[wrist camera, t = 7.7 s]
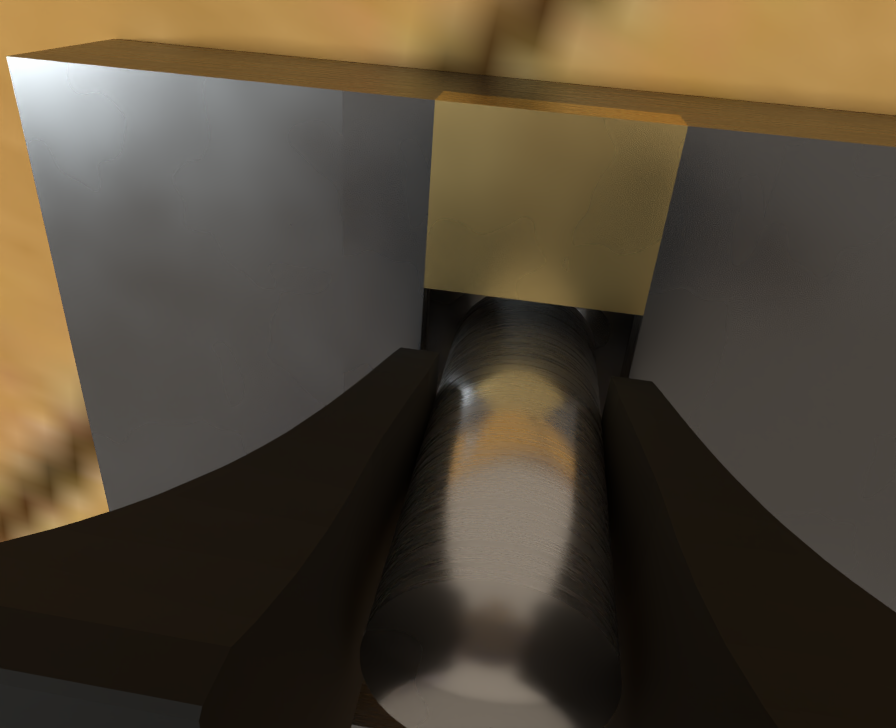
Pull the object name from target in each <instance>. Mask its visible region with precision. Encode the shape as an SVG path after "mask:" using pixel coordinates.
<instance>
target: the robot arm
mask: <svg viewBox="0 0 896 728" xmlns="http://www.w3.org/2000/svg"><path fill="white" fill-rule="evenodd" d="M438 363H439V352H432V351H424V350H417V349H410V348H402V347H400V348H399V349H398V350H396V351H395V352H393V353H392V354H391V355H390V356H388V357H387V358H386V359H385V360H383V361H382V362H381V363H380V364H379V365H377V366H376V367H375V368H374V369H372V370H371V371H370V372H369V373H368V374H366V375H365V376H364V377H363V378H361V379H360V380H359V381H358V382H356V383H355V384H354V385H353V386H351V387H350V388H349V389H347V390H346V391H345V392H343V393H342V394H341V395H339V396H338V397H337V398H335V399H334V400H333V401H332V402H330V403H329V404H328V405H326V406H325V407H323V408H322V409H321V410H319V411H318V412H316V413H315V414H313V415H312V416H310V417H309V418H307V419H306V420H304V421H303V422H301V423H300V424H298V425H297V426H295V427H294V428H292V429H291V430H289V431H288V432H286V433H284V434H283V435H281V436H279V437H278V438H276V439H274V440H272V441H271V442H269V443H267V444H265V445H264V446H262V447H260V448H258V449H256V450H254V451H252V452H251V453H249V454H247V455H245V456H243V457H241V458H239V459H237V460H235V461H233V462H231V463H229V464H227V465H225V466H223V467H221V468H219V469H216V470H214V471H212V472H209V473H207V474H205V475H202V476H200V477H198V478H195V479H193V480H191V481H188V482H186V483H184V484H181V485H179V486H177V487H174V488H172V489H170V490H167V491H165V492H163V493H160V494H158V495H155V496H152V497H150V498H147V499H144V500H141V501H139V502H136V503H133V504H130V505H127V506H125V507H122V508H119V509H116V510H113V511H110V512H107V513H103V514H100V515H97V516H94V517H91V518H88V519H85V520H82V521H79V522H75V523H72V524H68V525H65V526H62V527H58V528H55V529H51V530H47V531H43V532H39V533H35V534H31V535H28V536H24V537H20V538H16V539H12V540H8V541H4V542H0V728H351V726H352V722H353V718H354V714H355V710H356V706H357V702H358V698H359V694H360V690H361V686H362V682H363V678H364V677H363V674H362V671H361V665H360V646H361V642H362V638H363V635H364V632H365V628H366V625H367V622H368V619H369V615H370V612H371V609H372V605H373V602H374V599H375V595H376V592H377V589H378V586H379V582H380V579H381V576H382V572H383V569H384V566H385V563H386V559H387V556H388V553H389V549H390V546H391V543H392V540H393V536H394V533H395V530H396V526H397V523H398V520H399V516H400V513H401V510H402V507H403V503H404V500H405V497H406V493H407V490H408V487H409V484H410V480H411V477H412V474H413V470H414V467H415V464H416V461H417V457H418V454H419V451H420V447H421V444H422V441H423V438H424V434H425V431H426V428H427V424H428V421H429V418H430V414H431V411H432V408H433V405H434V401H435V398H436V390H437V376H438ZM601 424H602V437H603V450H604V462H605V475H606V488H607V500H608V513H609V526H610V538H611V551H612V563H613V576H614V589H615V601H616V614H617V627H618V639H619V652H620V665H621V677H622V691H621V698H620V701H619V704H618V707H617V709H616V711H615V712H614V714H613V716H612V717H611V719H610V720H609V721H608V722H607V724H606V725H605V726H604V727H603V728H896V612H895V611H893V610H892V609H890V608H889V607H888V606H886V605H885V604H883V603H882V602H881V601H879V600H878V599H877V598H875V597H874V596H872V595H871V594H870V593H868V592H867V591H865V590H864V589H863V588H861V587H860V586H859V585H857V584H856V583H854V582H853V581H852V580H850V579H849V578H848V577H846V576H845V575H844V574H842V573H841V572H840V571H839V570H837V569H836V568H835V567H833V566H832V565H831V564H830V563H828V562H827V561H826V560H824V559H823V558H822V557H821V556H820V555H818V554H817V553H816V552H815V551H814V550H813V549H811V548H810V547H809V546H808V545H807V544H805V543H804V542H803V541H802V540H801V539H800V538H798V537H797V536H796V535H795V534H794V533H792V532H791V531H790V530H789V529H788V528H787V527H785V526H784V525H783V524H782V523H781V522H780V521H779V520H778V519H777V518H775V517H774V516H773V515H772V514H771V513H770V512H769V511H768V510H767V509H766V508H765V507H764V506H763V505H762V504H761V503H760V502H759V501H758V500H757V499H756V498H755V497H754V496H753V495H752V494H751V493H750V492H749V491H748V490H747V489H746V488H745V487H744V486H743V485H742V484H741V483H740V482H739V481H738V480H737V479H736V478H735V477H734V476H733V475H732V474H731V473H730V472H729V471H728V470H727V469H726V468H725V467H724V466H723V465H722V463H721V462H720V461H719V460H718V459H717V458H716V457H715V456H714V455H713V453H712V452H711V451H710V450H709V449H708V448H707V447H706V445H705V444H704V443H703V442H702V441H701V440H700V439H699V437H698V436H697V435H696V434H695V433H694V431H693V430H692V429H691V428H690V427H689V425H688V424H687V423H686V422H685V421H684V419H683V418H682V417H681V416H680V414H679V413H678V412H677V411H676V410H675V408H674V407H673V406H672V405H671V403H670V402H669V401H668V400H667V398H666V397H665V396H664V395H663V393H662V392H661V391H660V390H659V389H658V387H657V386H656V385H655V384H654V383H653V382H652V381H646V380H638V379H631V378H623V377H616V376H611V378H610V383H609V387H608V392H607V396H606V401H605V405H604V410H603V414H602V419H601Z"/></svg>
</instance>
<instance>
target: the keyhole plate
mask: <svg viewBox="0 0 896 728" xmlns="http://www.w3.org/2000/svg"><path fill="white" fill-rule="evenodd" d="M6 57H7V61H8V66H9V70H10V75H11V79H12V83H13V88H14V92H15V97H16V101H17V106H18V110H19V114H20V119H21V123H22V128H23V132H24V136H25V141H26V145H27V150H28V154H29V159H30V163H31V167H32V172H33V176H34V181H35V185H36V189H37V194H38V198H39V203H40V207H41V211H42V216H43V220H44V225H45V229H46V234H47V238H48V242H49V247H50V251H51V256H52V260H53V264H54V269H55V273H56V278H57V282H58V287H59V291H60V295H61V300H62V304H63V309H64V313H65V317H66V322H67V326H68V331H69V335H70V340H71V344H72V348H73V353H74V357H75V362H76V366H77V370H78V375H79V379H80V384H81V388H82V392H83V397H84V401H85V406H86V410H87V415H88V419H89V423H90V428H91V432H92V437H93V441H94V445H95V450H96V454H97V459H98V463H99V468H100V472H101V476H102V481H103V485H104V490H105V494H106V498H107V503H108V507H109V512H110V511H113V510H116V509H119V508H122V507H125V506H127V505H130V504H133V503H136V502H139V501H141V500H144V499H147V498H150V497H152V496H155V495H158V494H160V493H163V492H165V491H167V490H170V489H172V488H174V487H177V486H179V485H181V484H184V483H186V482H188V481H191V480H193V479H195V478H198V477H200V476H202V475H205V474H207V473H209V472H212V471H214V470H216V469H219V468H221V467H223V466H225V465H227V464H229V463H231V462H233V461H235V460H237V459H239V458H241V457H243V456H245V455H247V454H249V453H251V452H252V451H254V450H256V449H258V448H260V447H262V446H264V445H265V444H267V443H269V442H271V441H272V440H274V439H276V438H278V437H279V436H281V435H283V434H284V433H286V432H288V431H289V430H291V429H292V428H294V427H295V426H297V425H298V424H300V423H301V422H303V421H304V420H306V419H307V418H309V417H310V416H312V415H313V414H315V413H316V412H318V411H319V410H321V409H322V408H323V407H325V406H326V405H328V404H329V403H330V402H332V401H333V400H334V399H335V398H337V397H338V396H339V395H341V394H342V393H343V392H345V391H346V390H347V389H349V388H350V387H351V386H353V385H354V384H355V383H356V382H358V381H359V380H360V379H361V378H363V377H364V376H365V375H366V374H368V373H369V372H370V371H371V370H372V369H374V368H375V367H376V366H377V365H379V364H380V363H381V362H382V361H383V360H385V359H386V358H387V357H388V356H390V355H391V354H392V353H393V352H395V351H396V350H398V349H399V348H400V347H402V348H410V349H417V350H424V351H427V341H428V326H429V310H430V295H431V289H437V290H445V291H453V292H461V293H469V294H476V295H484V296H492V297H500V298H508V299H516V300H524V301H532V302H540V303H547V304H555V305H563V306H571V307H579V308H587V309H595V310H603V311H610V312H618V313H626V314H634V317H633V321H632V325H631V330H630V334H629V338H628V343H627V347H626V352H625V356H624V360H623V365H622V369H621V373H620V377H623V378H631V379H638V380H646V381H652V382H653V383H654V384H655V385H656V386H657V387H658V389H659V390H660V391H661V392H662V393H663V395H664V396H665V397H666V398H667V400H668V401H669V402H670V403H671V405H672V406H673V407H674V408H675V410H676V411H677V412H678V413H679V414H680V416H681V417H682V418H683V419H684V421H685V422H686V423H687V424H688V425H689V427H690V428H691V429H692V430H693V431H694V433H695V434H696V435H697V436H698V437H699V439H700V440H701V441H702V442H703V443H704V444H705V445H706V447H707V448H708V449H709V450H710V451H711V452H712V453H713V455H714V456H715V457H716V458H717V459H718V460H719V461H720V462H721V463H722V465H723V466H724V467H725V468H726V469H727V470H728V471H729V472H730V473H731V474H732V475H733V476H734V477H735V478H736V479H737V480H738V481H739V482H740V483H741V484H742V485H743V486H744V487H745V488H746V489H747V490H748V491H749V492H750V493H751V494H752V495H753V496H754V497H755V498H756V499H757V500H758V501H759V502H760V503H761V504H762V505H763V506H764V507H765V508H766V509H767V510H768V511H769V512H770V513H771V514H772V515H773V516H774V517H775V518H777V519H778V520H779V521H780V522H781V523H782V524H783V525H784V526H785V527H787V528H788V529H789V530H790V531H791V532H792V533H794V534H795V535H796V536H797V537H798V538H800V539H801V540H802V541H803V542H804V543H805V544H807V545H808V546H809V547H810V548H811V549H813V550H814V551H815V552H816V553H817V554H818V555H820V556H821V557H822V558H823V559H824V560H826V561H827V562H828V563H830V564H831V565H832V566H833V567H835V568H836V569H837V570H839V571H840V572H841V573H842V574H844V575H845V576H846V577H848V578H849V579H850V580H852V581H853V582H854V583H856V584H857V585H859V586H860V587H861V588H863V589H864V590H865V591H867V592H868V593H870V594H871V595H872V596H874V597H875V598H877V599H878V600H879V601H881V602H882V603H883V604H885V605H886V606H888V607H889V608H890V609H892V610H893V611H895V612H896V116H892V115H882V114H871V113H861V112H851V111H841V110H831V109H821V108H810V107H800V106H790V105H780V104H770V103H760V102H749V101H739V100H729V99H719V98H709V97H698V96H688V95H678V94H668V93H658V92H648V91H637V90H627V89H617V88H607V87H597V86H587V85H576V84H566V83H556V82H546V81H536V80H526V79H515V78H505V77H495V76H485V75H475V74H465V73H454V72H444V71H434V70H424V69H414V68H404V67H393V66H383V65H373V64H363V63H353V62H343V61H332V60H322V59H312V58H302V57H292V56H282V55H271V54H261V53H251V52H241V51H231V50H221V49H210V48H200V47H190V46H180V45H170V44H160V43H149V42H139V41H129V40H119V39H111V40H105V41H98V42H92V43H86V44H80V45H73V46H67V47H61V48H55V49H49V50H42V51H36V52H30V53H24V54H17V55H11V56H6ZM351 728H407V727H405V726H404V725H402V724H401V723H400V722H398V721H397V720H396V719H394V718H393V717H392V716H391V715H390V714H389V713H388V712H386V710H385V709H384V708H383V707H382V706H381V705H380V704H379V703H378V702H377V700H376V699H375V698H374V696H373V695H372V693H371V692H370V690H369V688H368V686H367V684H366V682H365V680H364V678H363V682H362V686H361V690H360V694H359V698H358V702H357V706H356V710H355V714H354V718H353V722H352V726H351Z"/></svg>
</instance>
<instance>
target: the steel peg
mask: <svg viewBox="0 0 896 728" xmlns="http://www.w3.org/2000/svg"><path fill="white" fill-rule="evenodd" d="M633 317H634V314H626V313H618V312H610V311H603V310H595V309H587V308H579V307H571V306H563V305H555V304H547V303H540V302H532V301H524V300H516V299H508V298H500V297H492V296H484V295H476V294H469V293H461V292H453V291H445V290H437V289H431V295H430V310H429V326H428V341H427V351H432V352H439V363H438V376H437V390H436V398H435V401H434V405H433V408H432V411H431V414H430V418H429V421H428V424H427V428H426V431H425V434H424V438H423V441H422V444H421V447H420V451H419V454H418V457H417V461H416V464H415V467H414V470H413V474H412V477H411V480H410V484H409V487H408V490H407V493H406V497H405V500H404V503H403V507H402V510H401V513H400V516H399V520H398V523H397V526H396V530H395V533H394V536H393V540H392V543H391V546H390V549H389V553H388V556H387V559H386V563H385V566H384V569H383V572H382V576H381V579H380V582H379V586H378V589H377V592H376V595H375V599H374V602H373V605H372V609H371V612H370V615H369V619H368V622H367V625H366V628H365V632H364V635H363V638H362V642H361V646H360V665H361V671H362V674H363V677H364V680H365V682H366V684H367V686H368V688H369V690H370V692H371V693H372V695H373V696H374V698H375V699H376V700H377V702H378V703H379V704H380V705H381V706H382V707H383V708H384V709H385V710H386V712H388V713H389V714H390V715H391V716H392V717H393V718H394V719H396V720H397V721H398V722H400V723H401V724H402V725H404V726H405V727H407V728H603V727H604V726H605V725H606V724H607V722H608V721H609V720H610V719H611V717H612V716H613V714H614V712H615V711H616V709H617V707H618V704H619V701H620V698H621V691H622V677H621V665H620V652H619V639H618V627H617V614H616V601H615V589H614V576H613V563H612V551H611V538H610V526H609V513H608V500H607V488H606V475H605V462H604V450H603V437H602V424H601V419H602V414H603V410H604V405H605V401H606V396H607V392H608V387H609V383H610V378H611V376H616V377H620V373H621V369H622V365H623V360H624V356H625V352H626V347H627V343H628V338H629V334H630V330H631V325H632V321H633Z"/></svg>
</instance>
